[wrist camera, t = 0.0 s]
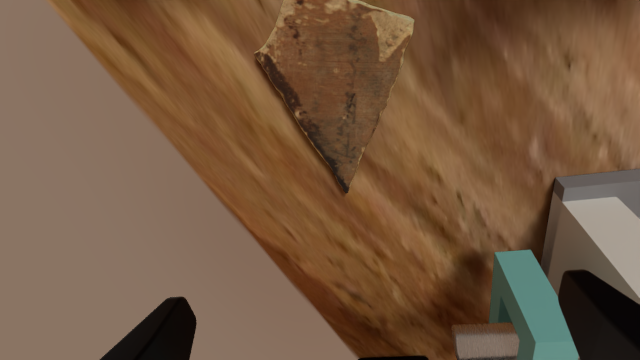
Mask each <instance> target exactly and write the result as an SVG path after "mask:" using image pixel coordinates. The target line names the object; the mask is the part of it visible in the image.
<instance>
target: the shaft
mask: <svg viewBox="0 0 640 360" xmlns="http://www.w3.org/2000/svg"><path fill="white" fill-rule="evenodd" d="M452 338H453V345H454V350H455V354H456V358H457V360H517V354H518V348H519V342H520V340H519V338H518V335H517V333H516V331H515V328H514V326H513V323H512V322H502V323H482V324H461V325H452ZM578 359H579V356H578Z"/></svg>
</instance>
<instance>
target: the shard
mask: <svg viewBox="0 0 640 360" xmlns="http://www.w3.org/2000/svg"><path fill="white" fill-rule="evenodd" d="M413 24H414V19H412V18H410V17H408V16H405V15H402V14H398V13H394V12H391V11H388V10H384V9H381V8H378V7H374V6H371V5H369V4H367V3H365V2H362V1H358V0H283V4H282V6H281V10H280V13H279V16H278V20H277V23H276V26H275V28H274V30H273V32H272V33H271V35H270V37H269V39H268V41H267V42H266V44H265V45H264V46H263V47H262V48H261V49H260V50H258V51H256V52H255V53H254V55H255V57H256V59H257V60H258V61H259V62H260V64H261V65H262V68H263V69H264V71H265V72H266V73H267V74H268V77H269V79H270V81H271V82H272V84H273V85H274V87H275V88H276V89H277V90H278V91H279V92H280V94H281V95H282V97H283V100H284V102H285V104H286V105H287V107H288V108H289V109H290V111H291V112H292V114H293V115H294V117H295V119H296V120H297V122H298V124H299V126H300V127H301V129H302V130H303V132H304V133H305V134H306V136H307V138H308V139H309V140H310V142H311V143H312V145H313V146H314V148H315V149H316V150H317V152H318V153H319V154H320V155H321V157H322V158H323V160H324V161H325V162H326V163H327V164H328V165H329V167H330V168H331V170H332V172H333V173H334V175H335V176H336V180H337V182H338V183H339V185H340V186H341V187H342V188H343V190H344V191H345V193H348V191H349V188H350V186H351V184H352V180H353V178H354V176H355V174H356V172H357V169H358V165H359V162H360V158H361V157H362V155H363V152H364V150H365V148H366V145H367V143H368V142H369V139H370V138H371V136H372V135H373V133H374V131H375V129H376V127H377V124H378V122H379V119H380V117H381V114H382V112H383V110H384V109H385V107H386V105H387V102H388V100H389V97H390V96H391V90H392V88H393V86H394V84H395V83H396V81H397V77H398V74H399V71H400V69H401V66H402V64H403V60H404V57H403V53H404V51H405V49H406V47H407V45H408V43H409V40H410V38H411V36H412V34H413Z"/></svg>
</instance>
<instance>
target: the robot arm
mask: <svg viewBox="0 0 640 360" xmlns="http://www.w3.org/2000/svg"><path fill="white" fill-rule="evenodd" d="M558 302H559V306H560V308H561V311H562V314H563V316H564V319H565V321H566V324H567V327H568V329H569V332H570V334H571V337H572V339H573V342H574V345H575V347H576V350H577V352H578V355H579V358H580V360H640V304H638V303H637V302H635V301H634V300H632V299H631V298H629V297H628V296H626V295H625V294H623V293H622V292H620V291H619V290H617V289H615V288H614V287H612V286H611V285H609V284H608V283H606V282H605V281H603V280H602V279H600V278H599V277H597V276H596V275H594V274H593V273H591V272H589V271H587V270H585V269H577V270H567V271H565V272H564V273H563V275H562V279H561V284H560V289H559V293H558ZM195 329H196V317H195V315H194V313H193V311H192V309H191V307H190V305H189V304H188V302H187V300H186V299H185V298H184V297H170V298H167V299H166V300H165V301H164V302H162V303H161V304H160V305H159V306H158V307H157V308H156V309H155V310H154V311H153V312H151V313H150V314H149V315H148V316H147V317H146V318H145V319H144V320H143V321H142V322H141V323H139V324H138V325H137V326H136V327H135V328H134V329H133V330H132V331H131V332H130V333H128V334H127V335H126V336H125V337H124V338H123V339H122V340H121V341H120V342H119V343H118V344H117V345H115V346H114V347H113V348H112V349H111V350H110V351H109V352H108V353H107V354H105V355H104V356H103V357H102V358H101V359H100V360H189V358H190V354H191V348H192V344H193V339H194V334H195ZM358 360H428V358H427V357H424V356H421V357H394V358H367V359H358Z"/></svg>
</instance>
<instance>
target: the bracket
mask: <svg viewBox="0 0 640 360" xmlns="http://www.w3.org/2000/svg"><path fill="white" fill-rule="evenodd" d="M540 267H541V269H542V270H543V272H544V274H545V276H546V277H547V279H548V281H549V282H550V284H551V286H552V288H553V289H554V291H555V293H556V295H557V296H558V293H559V289H560V284H561V279H562V275H563V273H564V272H565V271H567V270H577V269H585V270H587V271H589V272H591V273H593V274H594V275H596V276H597V277H599V278H600V279H602V280H603V281H605V282H606V283H608V284H609V285H611V286H612V287H614V288H615V289H617V290H619V291H620V292H622V293H623V294H625V295H626V296H628V297H629V298H631V299H632V300H634V301H635V302H637V303H638V304H640V169H634V170H624V171H615V172H605V173H595V174H586V175H576V176H567V177H557V178H555V184H554V190H553V196H552V201H551V207H550V213H549V219H548V225H547V230H546V236H545V242H544V248H543V254H542V259H541V265H540ZM578 360H580V358H579V359H578Z"/></svg>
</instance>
